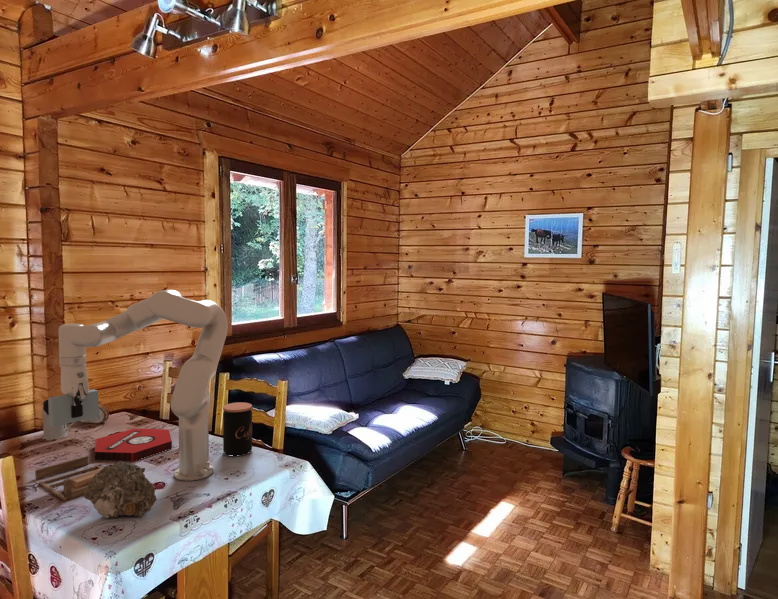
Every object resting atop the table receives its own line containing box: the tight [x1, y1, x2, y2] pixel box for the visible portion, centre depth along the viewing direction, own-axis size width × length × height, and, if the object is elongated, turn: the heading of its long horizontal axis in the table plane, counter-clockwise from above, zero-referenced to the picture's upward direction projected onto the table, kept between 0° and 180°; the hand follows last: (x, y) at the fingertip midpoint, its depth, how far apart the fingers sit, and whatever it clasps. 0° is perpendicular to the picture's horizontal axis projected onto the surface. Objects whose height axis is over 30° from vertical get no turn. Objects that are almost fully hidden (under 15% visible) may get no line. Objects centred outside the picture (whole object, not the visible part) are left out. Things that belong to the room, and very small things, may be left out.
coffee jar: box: [222, 402, 253, 457], centre depth 194 cm, size 11×11×18 cm
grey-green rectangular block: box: [47, 388, 100, 427], centre depth 168 cm, size 3×14×9 cm, turn 145°
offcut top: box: [69, 468, 102, 489], centre depth 163 cm, size 4×10×2 cm, turn 150°
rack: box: [34, 455, 104, 502], centre depth 167 cm, size 24×18×6 cm
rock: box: [83, 461, 157, 519], centre depth 147 cm, size 18×14×15 cm
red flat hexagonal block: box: [94, 428, 173, 462], centre depth 197 cm, size 27×4×30 cm
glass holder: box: [42, 399, 76, 441], centre depth 209 cm, size 9×14×15 cm, turn 118°
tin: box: [79, 404, 110, 425], centre depth 226 cm, size 15×3×8 cm, turn 82°
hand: (74, 415), depth 168 cm, fingers closed on grey-green rectangular block, 3 cm apart
